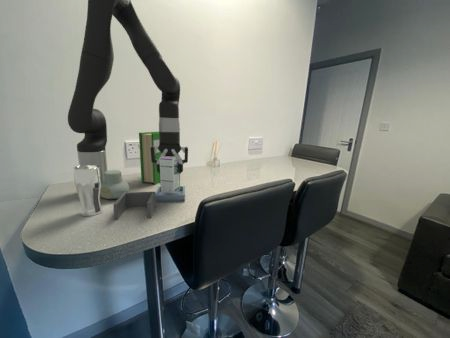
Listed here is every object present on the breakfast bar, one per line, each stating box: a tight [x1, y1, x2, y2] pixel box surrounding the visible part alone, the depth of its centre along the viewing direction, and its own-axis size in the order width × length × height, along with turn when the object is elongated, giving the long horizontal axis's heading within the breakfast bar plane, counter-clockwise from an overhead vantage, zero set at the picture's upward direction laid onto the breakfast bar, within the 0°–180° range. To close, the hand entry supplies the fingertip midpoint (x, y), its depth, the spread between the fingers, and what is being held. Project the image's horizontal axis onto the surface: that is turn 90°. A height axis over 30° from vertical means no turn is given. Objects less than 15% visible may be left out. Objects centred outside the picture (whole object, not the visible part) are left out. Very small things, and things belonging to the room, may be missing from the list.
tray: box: [155, 185, 186, 203], centre depth 81 cm, size 11×11×2 cm
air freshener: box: [100, 169, 131, 200], centre depth 77 cm, size 11×8×10 cm
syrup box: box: [160, 156, 181, 194], centre depth 79 cm, size 6×6×14 cm
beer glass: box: [73, 165, 104, 217], centre depth 63 cm, size 7×7×15 cm
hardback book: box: [138, 131, 161, 185], centre depth 102 cm, size 18×7×24 cm, turn 166°
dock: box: [112, 191, 157, 220], centre depth 66 cm, size 10×10×5 cm
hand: (170, 173), depth 79 cm, fingers closed on syrup box, 7 cm apart
